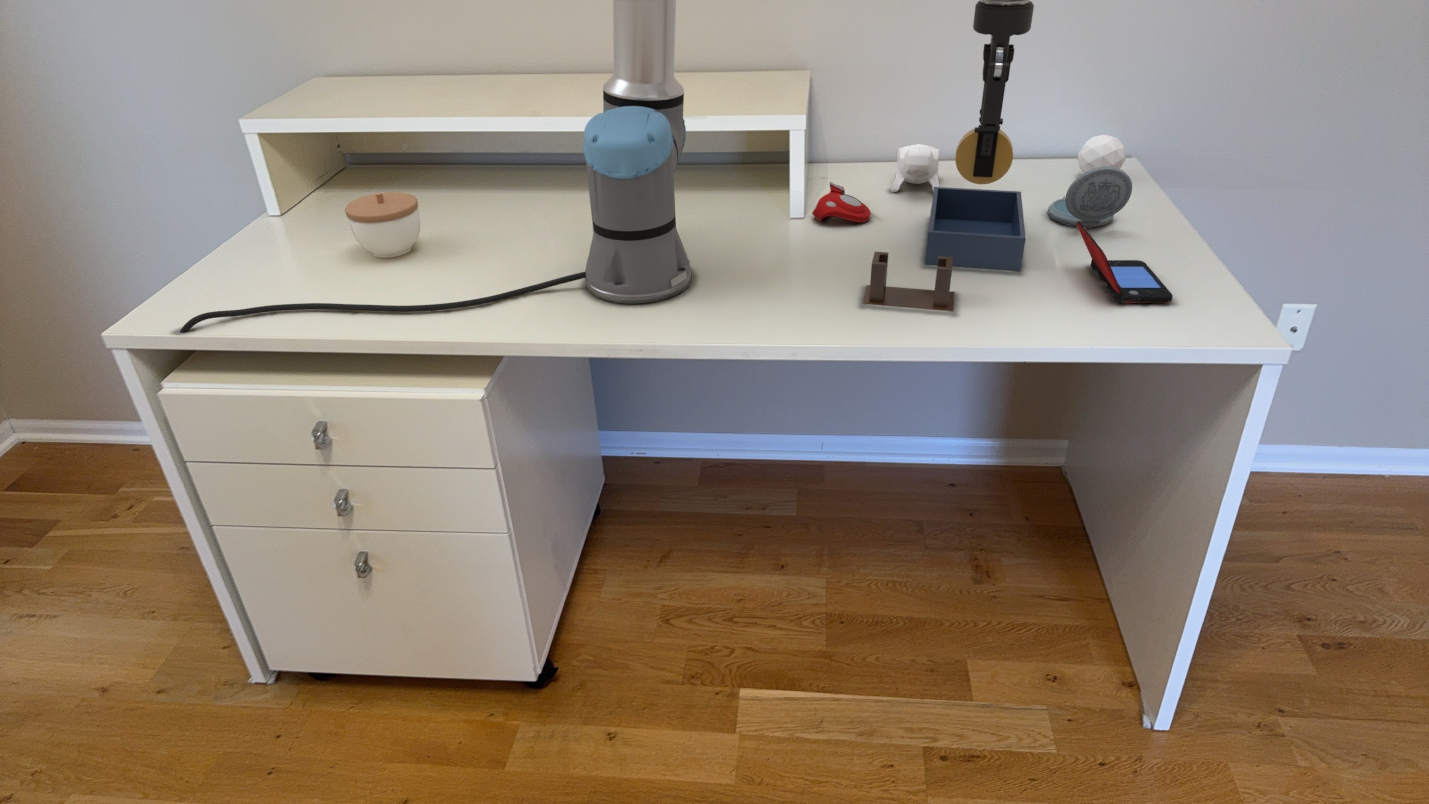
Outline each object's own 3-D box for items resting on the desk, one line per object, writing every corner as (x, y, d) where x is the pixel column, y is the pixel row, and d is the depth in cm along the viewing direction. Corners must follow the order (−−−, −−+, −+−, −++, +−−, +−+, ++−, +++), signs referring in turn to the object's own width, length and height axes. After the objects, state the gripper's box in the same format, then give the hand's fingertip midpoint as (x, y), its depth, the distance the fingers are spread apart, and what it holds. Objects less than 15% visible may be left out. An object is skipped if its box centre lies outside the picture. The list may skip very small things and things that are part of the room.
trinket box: (354, 244, 146) (340, 188, 141) (422, 233, 150) (410, 177, 145) (359, 269, 138) (343, 210, 133) (431, 256, 141) (418, 198, 136)
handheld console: (1174, 305, 121) (1188, 253, 117) (1090, 305, 121) (1102, 253, 117) (1142, 266, 131) (1154, 217, 127) (1065, 266, 132) (1075, 218, 128)
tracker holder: (885, 212, 149) (840, 211, 143) (874, 235, 151) (830, 235, 146) (841, 176, 156) (797, 173, 150) (832, 199, 159) (788, 197, 153)
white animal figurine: (891, 193, 168) (890, 190, 154) (895, 145, 166) (894, 138, 152) (938, 195, 166) (942, 192, 152) (943, 147, 165) (947, 139, 150)
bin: (1019, 274, 130) (1025, 238, 127) (924, 267, 133) (928, 231, 130) (1015, 224, 146) (1021, 191, 143) (930, 219, 149) (934, 186, 146)
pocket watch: (1073, 167, 136) (1048, 138, 148) (1060, 236, 141) (1037, 202, 154) (1142, 167, 135) (1111, 137, 147) (1126, 236, 141) (1098, 202, 153)
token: (1013, 181, 132) (1012, 126, 128) (956, 186, 134) (954, 133, 130) (1012, 177, 134) (1012, 123, 130) (956, 182, 136) (954, 129, 132)
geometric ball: (1101, 190, 166) (1133, 153, 163) (1103, 188, 159) (1137, 150, 156) (1067, 164, 167) (1099, 127, 164) (1068, 161, 160) (1101, 123, 157)
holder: (954, 295, 125) (959, 254, 122) (953, 314, 120) (958, 273, 117) (866, 288, 128) (869, 248, 125) (862, 306, 123) (864, 266, 120)
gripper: (1037, 10, 114) (1010, 192, 126) (1032, -9, 126) (1008, 158, 139) (975, 10, 115) (955, 189, 128) (976, -9, 128) (957, 156, 140)
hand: (982, 172), depth 133 cm, fingers closed on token, 2 cm apart
